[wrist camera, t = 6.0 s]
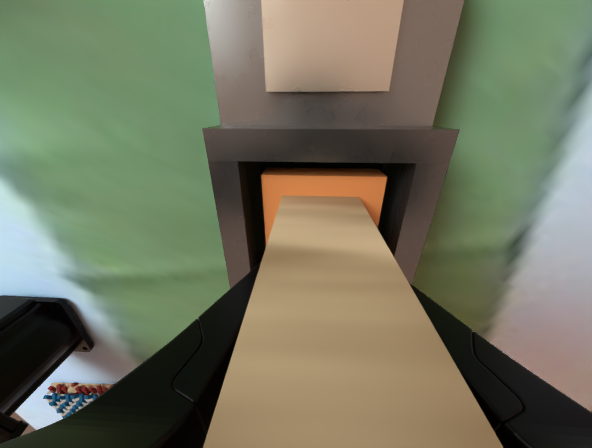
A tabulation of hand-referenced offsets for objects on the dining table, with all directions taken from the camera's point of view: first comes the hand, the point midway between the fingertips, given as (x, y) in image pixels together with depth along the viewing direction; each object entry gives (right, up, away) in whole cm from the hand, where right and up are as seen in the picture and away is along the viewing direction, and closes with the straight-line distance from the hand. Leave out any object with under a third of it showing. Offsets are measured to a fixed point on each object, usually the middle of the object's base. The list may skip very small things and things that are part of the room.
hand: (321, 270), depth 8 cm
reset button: (0, +2, +4) cm, 4 cm away
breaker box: (0, +6, +4) cm, 7 cm away
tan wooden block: (0, +1, +3) cm, 3 cm away
